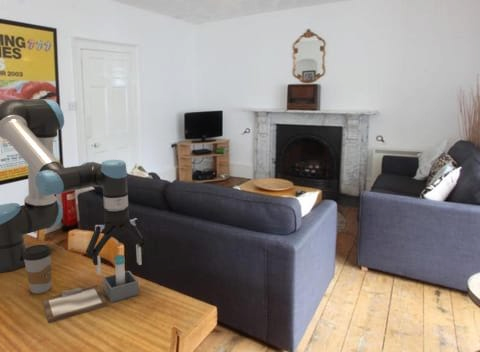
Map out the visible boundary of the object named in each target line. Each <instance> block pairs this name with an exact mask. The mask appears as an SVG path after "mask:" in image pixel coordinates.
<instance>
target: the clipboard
mask: <svg viewBox="0 0 480 352" xmlns="http://www.w3.org/2000/svg"><path fill="white" fill-rule="evenodd" d="M42 305H43V308H44V311H45V316H46V318H47V322H48V324H51V323H53V322H56V321H60V320H64V319H66V318H67V319H68V318H70V317H75V316H76V315H80V314H84V313H87V312H91V311H94V310H97V309H101V308H104V307H108V301H107V300H106V298H105V296H104V294H103V292H102V291H101V289H100V287H99V286H98V284H96V285H92V286H88V287H85V288H84V287H83V288H81V287H77V288H73V289H69V290H66V291H62V292H60V294H57V295H54V296H50V297H45V298H42Z"/></svg>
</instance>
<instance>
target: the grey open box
mask: <svg viewBox="0 0 480 352" xmlns="http://www.w3.org/2000/svg"><path fill="white" fill-rule="evenodd" d="M102 281H103V283H102V285H103V292H104V293H105V295H106V297H107V299H108V300H109V302H110V303H111V304H113V303H116V302H119V301H122V300H126V299H129V298H133V297H137V296H139V295H140V293H139V290H140V289H139V281H138V280H137V278H136V277H135V276H134V275H133V273H132V271H130V270H125V284H124V285H120V286H117V287H116V274H111V275H107V276H103V277H102Z"/></svg>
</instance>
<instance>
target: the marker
mask: <svg viewBox="0 0 480 352" xmlns="http://www.w3.org/2000/svg"><path fill="white" fill-rule="evenodd" d="M113 258H114V269H115V274H116V287H117V286H120V285H124V284H125V272H126V269H125V263H126V261H125V255H124V254H116V255H115V256H114V257H113Z"/></svg>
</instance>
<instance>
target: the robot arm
mask: <svg viewBox="0 0 480 352" xmlns="http://www.w3.org/2000/svg"><path fill="white" fill-rule="evenodd" d="M63 113H64V112H63V110H62V108H61V106H60V105H59V104H58V103H57V102H56V101H55V100H53V99H43V98H29V99H26V98H24V99H19V98H18V99H17V98H14V99H13V98H12V99H8V100H7V99H6V100H4V101H2V102H1V103H0V138H1V139H4V140H7V141H8V143H9V144H10V145H11V146H12V147H13V149H15V151H16V152H17V153H18V155H19V156H20V157H21V159H23V160H24V162H25V163H26V165H27V168H28V169H27V171H28V172H27V174H28V175H27V178H28V181H27V182H28V185H27V186H28V195H27V196H25V197H24V201H23V202H24V204H22V205H20V204H19V203H17V202H10V203H4V204H3V203H2V204H0V273H7V272H11V271H15V270H19V269H21V268H24V267H26V266H25V261H24V259H23V253H24V250H25V249H26V248H28V247H27V245H26V242H25V238H24V235H29V234H31V233H35V232H39V231H42V230H47V229H51V228H53V227H56V226H57V225H59V224H60V222H61V221H62V219H63V215H64V214H63V213H64V212H63V211H64V210H63V207H62V206H63V205H62V203H61V201H60V200H59V199H57V198H58V197H56V195H59V194H64V193H69V192H73V191H77V190H83V189H87V188H88V189H89V188H92V187H98V188H102V196H103V208H104V215H103V216H104V224H98V223H96V224H95V225H94V231H93V234H92V237H91V238H90V241H89V243H88V245H87V248H86V250H85V253H86V255H87V256H88V257H91V256H92V257H91V258H92V264H93V265H94V266H96V273H97V274H98V275H99V276H101V275H102V265H101V255H100V252H101V251H102V250H103V248H104V247H105V246H106V244H107V243H108V241H109V240H110V239H111V238H112V237H117V236H123V235H124V234H127V235H128V236H129V237H130V238H131V239H132V240H134V241H135V243H137V244H136V245H135V250H136V251H135V253H136V263H137V264H138V266H141V265H142V264H143V263H142V255H144V254H145V252H144V249H145V248H144V247H145V245H146V244H149V243H150V241H149V239H148V237H147V236H146V234H145V232H144V231H143V229H142V227H141V226H140V221H139V219H138V218H136V217H133V219H130V216H129V215H130V213H129V207H128V206H129V195H128V194H129V193H128V171H127V164H126V162H125V161H124V160H121V159H107V160H103V161H101V163H99V162H95V161H85V162H83V163H82V164H81V165H76V166H67V167H65V166H64V165H63V164H62V163H61V162H60V161H59V160H58V159H57V158H56V157H55V156H54V139H56V137H58V131H59V130H63V128H64V125H65V117H64V114H63ZM131 225H132V226H133V227H135V230H136V231H137V233H138V234H139V236H140V238H141V239H142V240H141V239H139V238H138V237H137V236H136V235H135V234H134V233H133V232H131V230H129V228H130V226H131ZM103 230H105V231H104V233H103V236H102V237H101V239H100V240H99V238H100V235H101V233H102V232H103ZM98 240H99V241H98ZM97 242H98V243H97Z"/></svg>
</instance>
